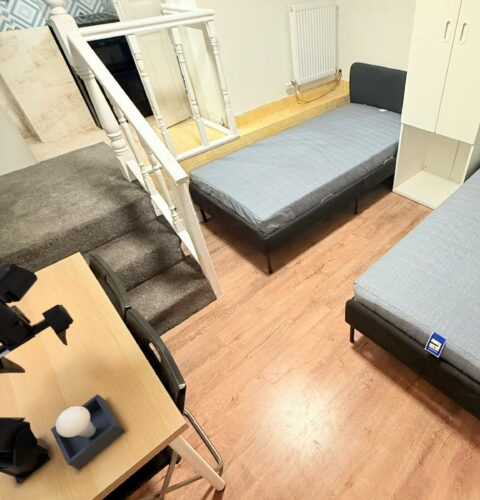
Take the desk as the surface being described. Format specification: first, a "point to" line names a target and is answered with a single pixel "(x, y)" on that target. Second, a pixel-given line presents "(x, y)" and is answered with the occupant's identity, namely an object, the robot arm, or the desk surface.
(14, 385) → the desk surface
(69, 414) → the lightbulb
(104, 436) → the bin
